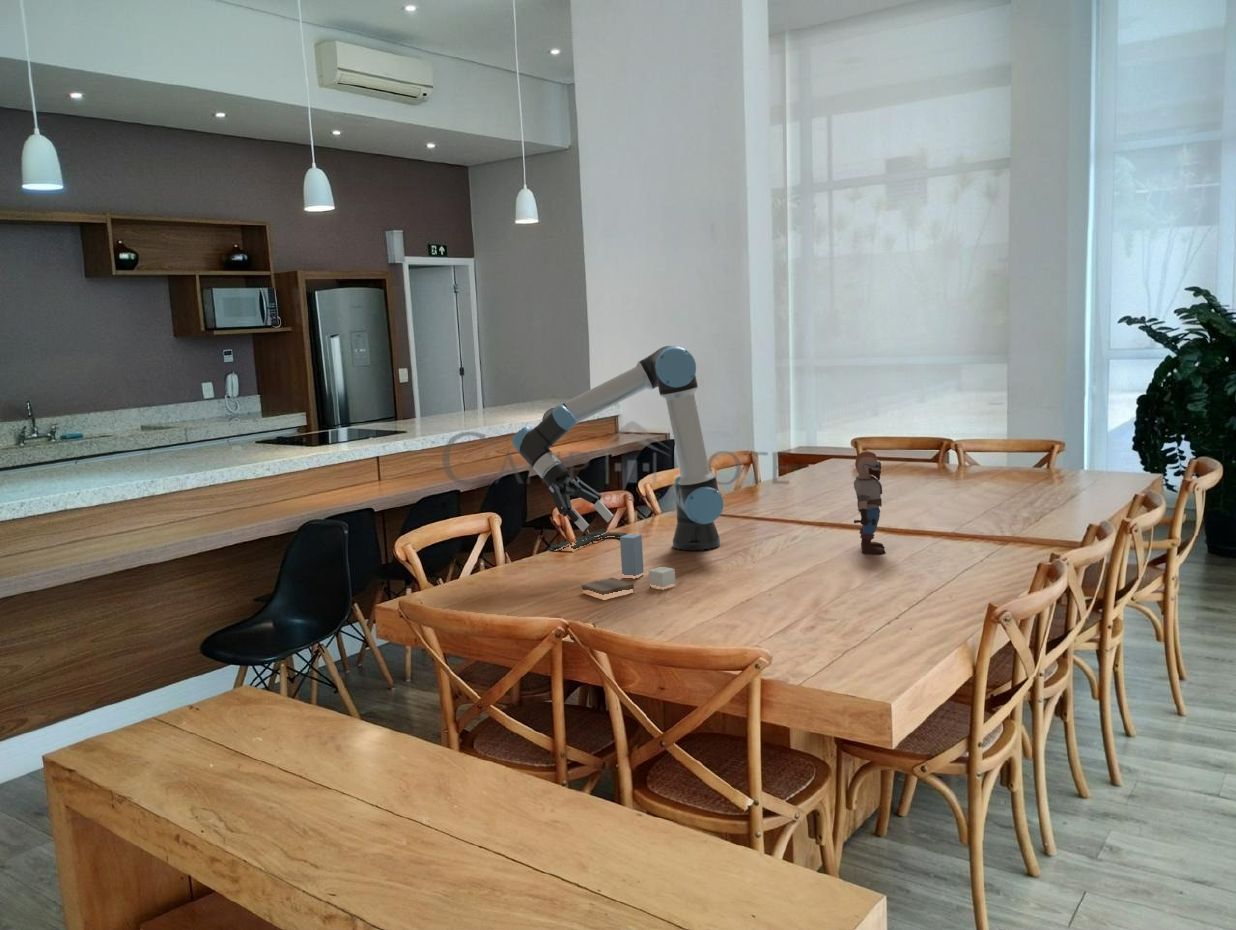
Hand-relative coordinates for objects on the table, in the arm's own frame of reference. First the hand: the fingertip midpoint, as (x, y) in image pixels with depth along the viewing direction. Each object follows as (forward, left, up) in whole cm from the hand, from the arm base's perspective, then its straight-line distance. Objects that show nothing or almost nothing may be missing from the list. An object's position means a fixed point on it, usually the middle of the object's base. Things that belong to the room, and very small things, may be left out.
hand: (598, 523), depth 285 cm
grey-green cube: (-3, +25, -15) cm, 29 cm away
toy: (-71, +39, -15) cm, 83 cm away
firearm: (-21, -37, -16) cm, 45 cm away
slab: (+11, +19, -15) cm, 26 cm away
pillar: (-4, +10, -15) cm, 18 cm away
